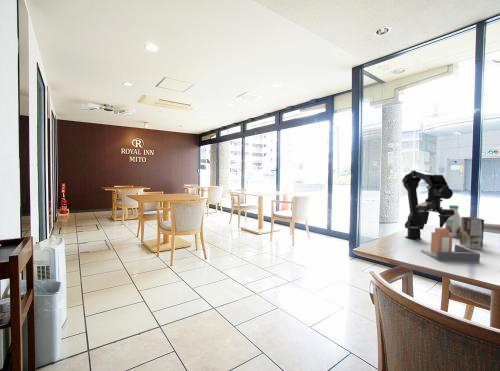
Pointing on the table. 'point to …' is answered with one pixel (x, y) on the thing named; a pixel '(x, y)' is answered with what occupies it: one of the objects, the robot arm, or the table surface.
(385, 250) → the table surface
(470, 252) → the tray
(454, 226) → the milk bottle
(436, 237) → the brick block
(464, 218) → the coffee box
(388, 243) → the table surface
